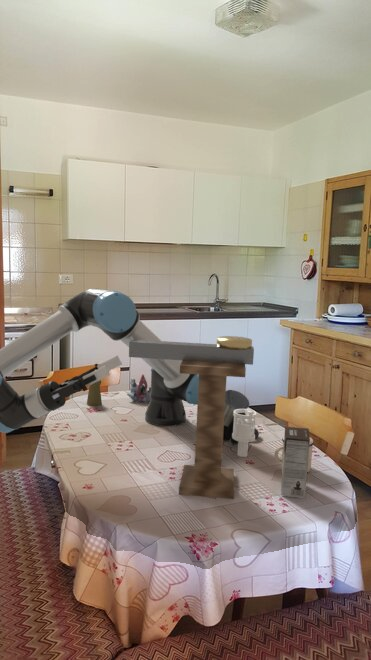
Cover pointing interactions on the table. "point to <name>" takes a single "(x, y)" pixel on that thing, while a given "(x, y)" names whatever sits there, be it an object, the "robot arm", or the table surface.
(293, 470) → the coffee box
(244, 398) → the milk frother
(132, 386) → the pink and grey figurine
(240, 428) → the strainer
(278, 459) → the teacup with lid
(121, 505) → the table surface
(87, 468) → the table surface
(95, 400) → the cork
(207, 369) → the walnut stand
